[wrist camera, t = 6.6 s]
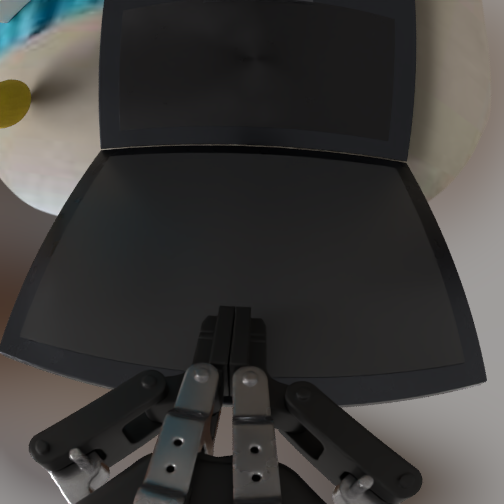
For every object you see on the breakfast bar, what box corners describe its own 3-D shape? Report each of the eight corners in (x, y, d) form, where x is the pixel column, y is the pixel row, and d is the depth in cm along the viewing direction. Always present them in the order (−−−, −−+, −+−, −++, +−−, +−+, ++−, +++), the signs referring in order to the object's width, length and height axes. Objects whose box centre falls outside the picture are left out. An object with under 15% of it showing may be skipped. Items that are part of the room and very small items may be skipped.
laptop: (117, -30, 17) (109, -35, 16) (405, -21, 17) (413, -26, 15) (108, 146, 27) (100, 149, 26) (399, 158, 27) (407, 162, 25)
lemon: (50, 94, 24) (2, 100, 17) (28, 130, 26) (-17, 145, 19) (28, 70, 22) (-18, 73, 15) (8, 106, 24) (-36, 116, 17)
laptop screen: (-4, 350, 12) (4, 356, 13) (488, 380, 12) (480, 384, 13) (100, 149, 26) (102, 156, 26) (406, 161, 25) (404, 169, 26)
